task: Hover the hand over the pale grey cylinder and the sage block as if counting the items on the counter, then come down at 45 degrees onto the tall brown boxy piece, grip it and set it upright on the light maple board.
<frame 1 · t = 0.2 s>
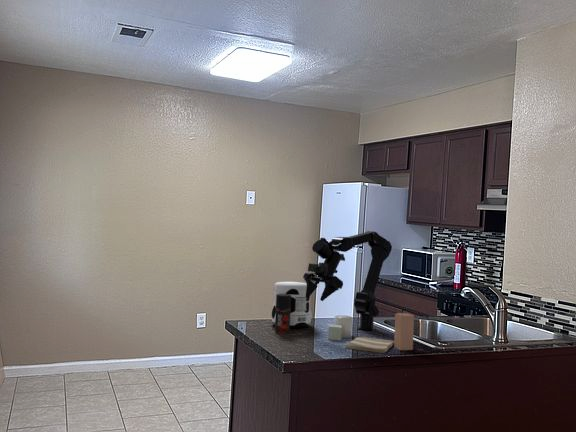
hand: (313, 299, 217), 15 cm above the worktop, tool tilted 30°, fingers open, 9 cm apart
brown boxy piece: (403, 348, 204), on the worktop
pale grey cylinder: (342, 335, 222), on the worktop
deodorant: (282, 332, 224), on the worktop
board: (370, 346, 205), on the worktop
block: (334, 338, 216), on the worktop
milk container: (290, 326, 237), on the worktop
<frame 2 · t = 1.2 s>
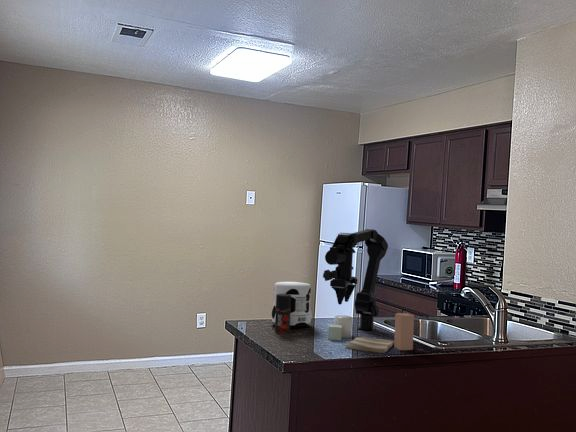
hand: (343, 303, 222), 13 cm above the worktop, tool pointing down, fingers open, 9 cm apart
nothing on the worktop moved.
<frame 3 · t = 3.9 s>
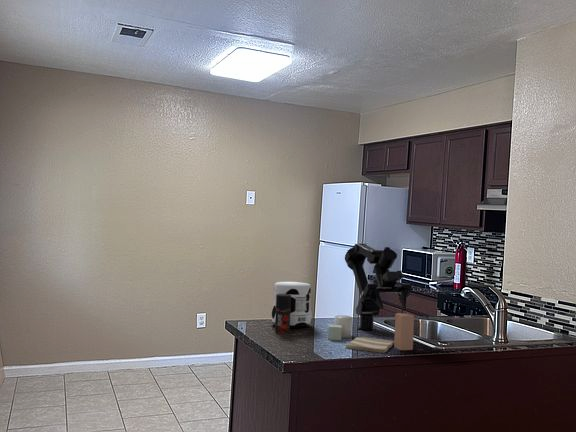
hand: (393, 308, 212), 13 cm above the worktop, tool tilted 45°, fingers open, 9 cm apart
nothing on the worktop moved.
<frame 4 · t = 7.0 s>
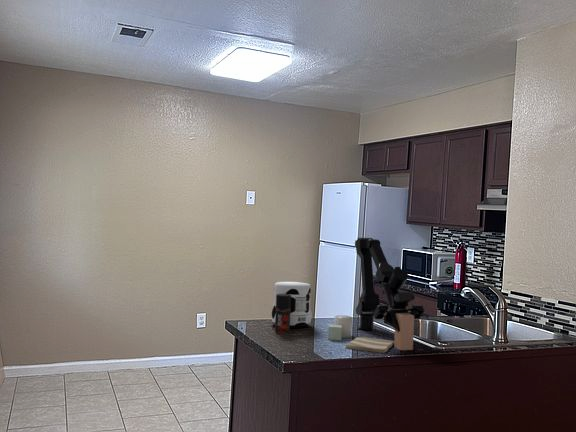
hand: (405, 331, 203), 7 cm above the worktop, tool tilted 45°, fingers closed on brown boxy piece, 5 cm apart
brown boxy piece: (403, 348, 204), on the worktop, touching gripper
everything else where it was.
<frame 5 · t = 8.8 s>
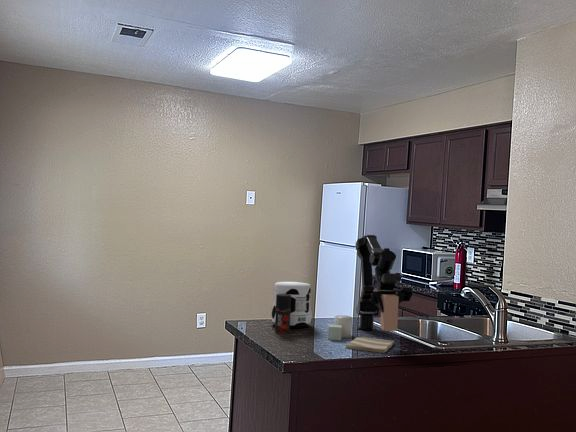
hand: (390, 312, 202), 13 cm above the worktop, tool tilted 45°, fingers closed on brown boxy piece, 5 cm apart
brown boxy piece: (388, 329, 204), point 7 cm above the worktop, touching gripper
everything else where it was.
when the fingers open (9 cm above the worktop, at t = 10.7 s): brown boxy piece stays where it is, resting on board.
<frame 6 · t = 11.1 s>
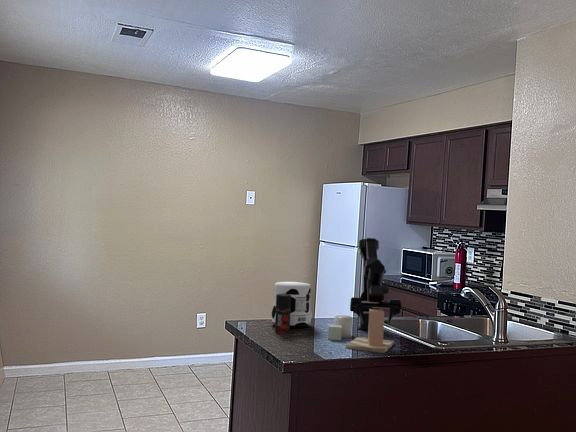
hand: (376, 324, 202), 9 cm above the worktop, tool tilted 45°, fingers open, 9 cm apart
brown boxy piece: (375, 344, 204), point 1 cm above the worktop, touching board
everything else where it was.
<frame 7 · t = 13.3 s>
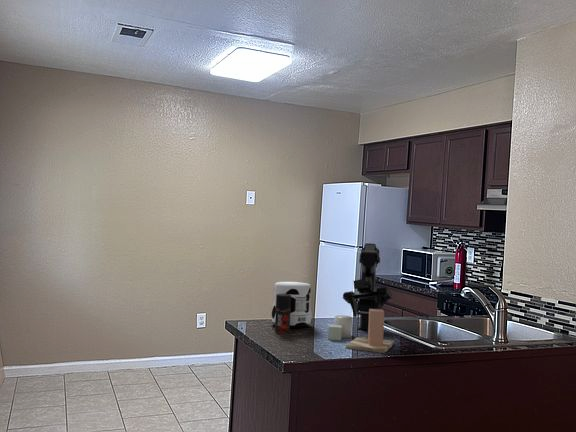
hand: (365, 315, 214), 10 cm above the worktop, tool tilted 35°, fingers open, 9 cm apart
nothing on the worktop moved.
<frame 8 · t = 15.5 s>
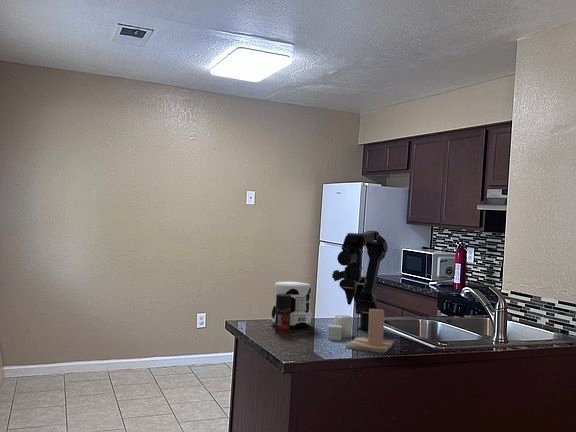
hand: (352, 303, 223), 13 cm above the worktop, tool pointing down, fingers open, 9 cm apart
nothing on the worktop moved.
at the end: brown boxy piece inside the target area on the board (2.2 cm from its centre), point 1.2 cm above the board's base; brown boxy piece tilted 0°; the gripper is holding nothing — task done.
